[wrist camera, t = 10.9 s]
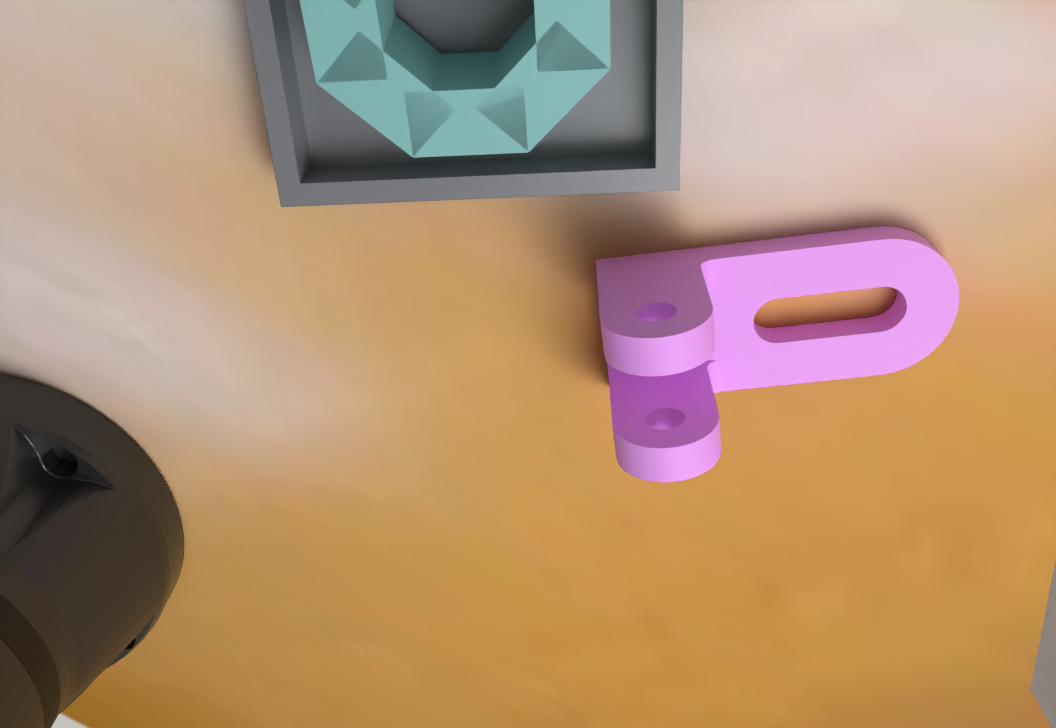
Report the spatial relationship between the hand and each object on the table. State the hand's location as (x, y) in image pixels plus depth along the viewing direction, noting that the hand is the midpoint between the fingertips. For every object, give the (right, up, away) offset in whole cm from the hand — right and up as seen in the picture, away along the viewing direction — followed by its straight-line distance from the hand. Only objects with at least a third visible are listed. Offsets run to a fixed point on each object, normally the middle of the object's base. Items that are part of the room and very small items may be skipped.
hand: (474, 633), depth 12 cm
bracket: (+10, +6, +27) cm, 29 cm away
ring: (-2, +16, +19) cm, 25 cm away
